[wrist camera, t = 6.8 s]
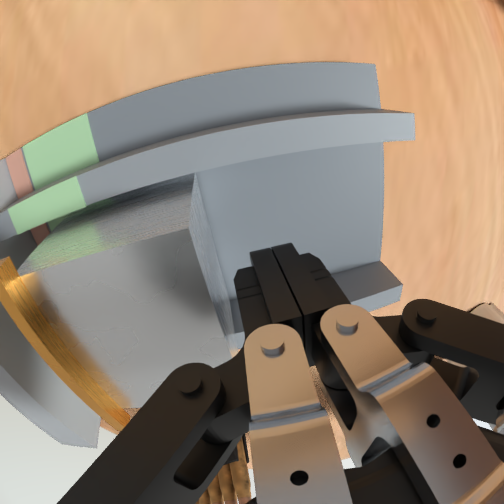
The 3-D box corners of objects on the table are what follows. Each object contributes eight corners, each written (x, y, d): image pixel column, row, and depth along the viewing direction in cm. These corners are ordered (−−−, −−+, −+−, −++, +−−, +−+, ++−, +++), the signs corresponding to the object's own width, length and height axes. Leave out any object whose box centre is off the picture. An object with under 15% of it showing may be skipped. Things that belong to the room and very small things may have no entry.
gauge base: (362, 66, 11) (486, 60, 4) (366, 293, 19) (426, 376, 12) (-12, 173, 10) (-102, 232, 3) (83, 355, 17) (61, 444, 10)
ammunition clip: (182, 446, 28) (189, 528, 17) (170, 443, 27) (176, 527, 16) (243, 421, 25) (264, 520, 15) (231, 416, 25) (250, 521, 14)
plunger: (191, 155, 11) (177, 212, 5) (231, 307, 15) (252, 417, 9) (70, 194, 10) (-15, 275, 5) (133, 327, 15) (117, 430, 9)
